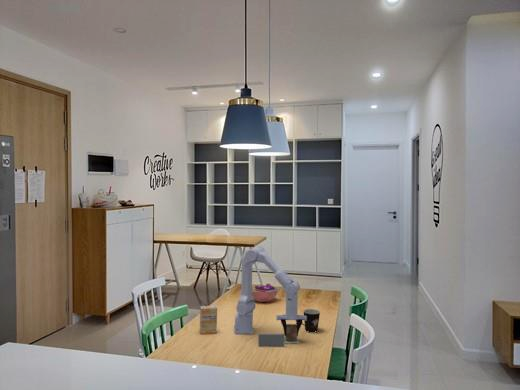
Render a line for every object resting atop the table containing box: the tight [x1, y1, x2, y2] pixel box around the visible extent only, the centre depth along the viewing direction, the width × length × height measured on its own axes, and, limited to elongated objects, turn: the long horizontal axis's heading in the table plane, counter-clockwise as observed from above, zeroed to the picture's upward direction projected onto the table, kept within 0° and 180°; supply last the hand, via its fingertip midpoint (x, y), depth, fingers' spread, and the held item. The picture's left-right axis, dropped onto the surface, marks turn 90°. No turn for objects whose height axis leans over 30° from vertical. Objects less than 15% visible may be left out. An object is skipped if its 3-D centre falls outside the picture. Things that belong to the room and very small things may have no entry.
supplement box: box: [199, 305, 218, 335], centre depth 200 cm, size 8×5×13 cm, turn 105°
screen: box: [257, 333, 285, 347], centre depth 185 cm, size 12×1×6 cm, turn 92°
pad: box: [284, 336, 300, 344], centre depth 191 cm, size 7×7×1 cm
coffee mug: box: [301, 308, 321, 333], centre depth 206 cm, size 12×9×10 cm
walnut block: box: [284, 323, 298, 340], centre depth 191 cm, size 5×5×6 cm
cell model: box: [252, 283, 280, 303], centre depth 260 cm, size 17×20×11 cm
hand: (291, 334), depth 191 cm, fingers closed on walnut block, 5 cm apart
